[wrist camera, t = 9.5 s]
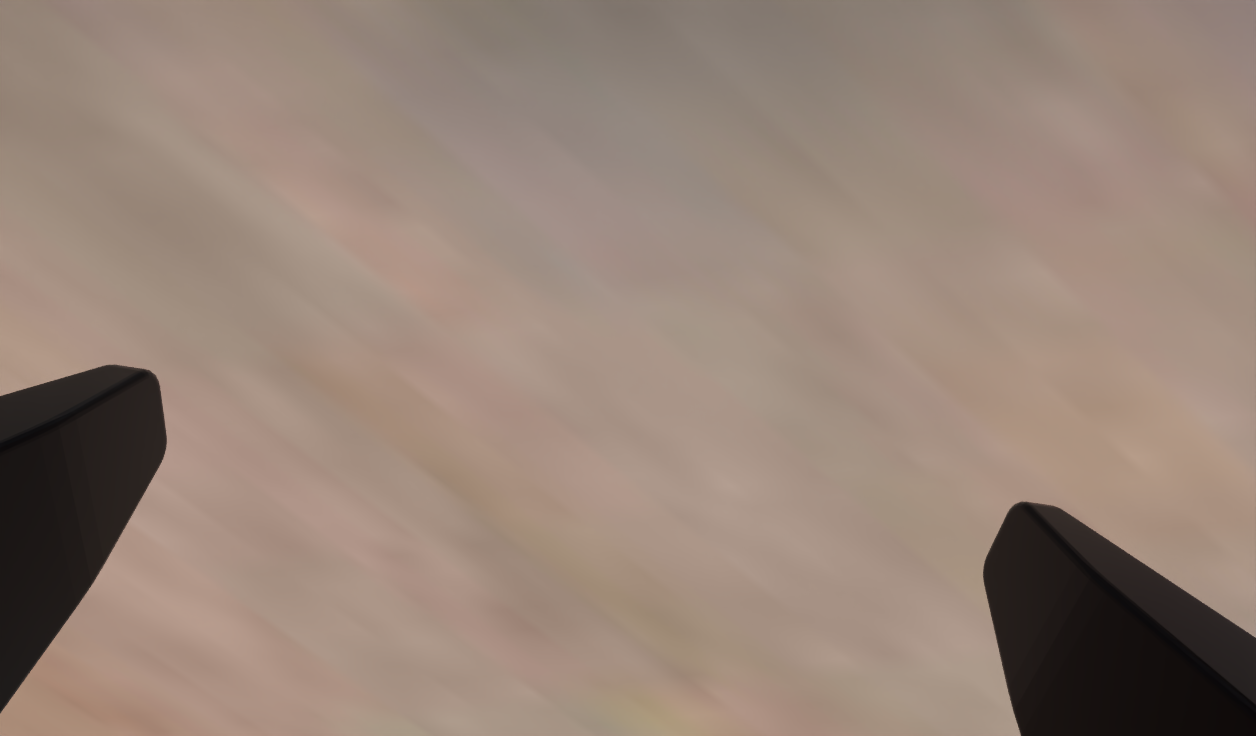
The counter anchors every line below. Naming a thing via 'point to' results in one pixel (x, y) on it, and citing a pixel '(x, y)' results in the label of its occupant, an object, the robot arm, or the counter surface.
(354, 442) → the counter surface
